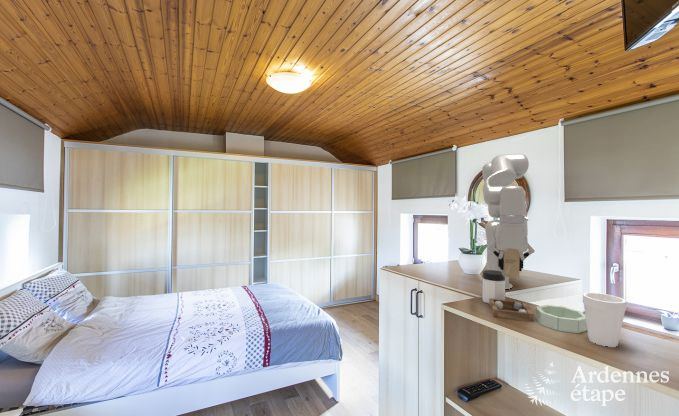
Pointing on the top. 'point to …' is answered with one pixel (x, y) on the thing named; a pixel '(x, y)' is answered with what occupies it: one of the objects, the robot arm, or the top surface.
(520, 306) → the pebble
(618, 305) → the foam cup
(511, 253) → the box
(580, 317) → the bowl
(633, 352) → the top surface
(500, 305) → the pebble
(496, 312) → the tray
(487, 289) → the jar
